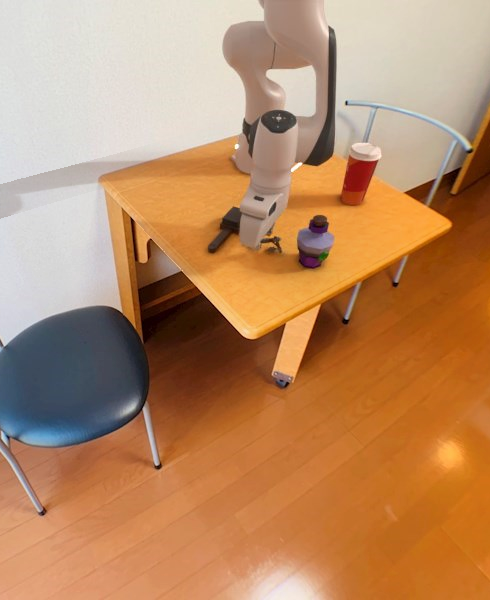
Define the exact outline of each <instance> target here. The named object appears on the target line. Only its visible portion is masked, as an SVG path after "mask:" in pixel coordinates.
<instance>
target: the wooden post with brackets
mask: <svg viewBox="0 0 490 600" xmlns="http://www.w3.org/2000/svg"><path fill="white" fill-rule="evenodd" d="M280 241H282V237H280V236H277V235H274V236H273V237H263V239H262V240H261V241H260V243H262V245H263V244H270V243H272V244H273V246H269V247H267V251H268V252H269V253H271V252H273V253H275V251H278V253H279V254H282V252H283V251H282V250H283V249H282V247H281V245H280Z"/></svg>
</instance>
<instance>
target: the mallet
mask: <svg viewBox="0 0 490 600" xmlns="http://www.w3.org/2000/svg"><path fill="white" fill-rule="evenodd" d="M242 213H243V212H240V207H239V206H232V207H231V208H230V209H229V210H228V211H227V212H226V213H225V214H224V215H223V216H222V218H221V219H222V220H221V222H220V223H219V230H221V231H220V232H219V233H218V234H217V235H216V236H215V237H214V238H213V239H212V240H211V242H210V243H209V244H208V245H207V252H208V253H209V254H215V253H216V252H217V251H218V250H219V249H220V248H221V247H222V245H224V243H225V241H227V240H228V239H229V238H230V236H231V235H232V234H234V235H236V236H238V235H240V220H241V216H242Z"/></svg>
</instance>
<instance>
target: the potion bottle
mask: <svg viewBox="0 0 490 600" xmlns="http://www.w3.org/2000/svg"><path fill="white" fill-rule="evenodd" d="M329 224H330V223H329V222H328V217H327V216H326V215H324V214H316V215H314V216H313V217H312V219H309V223H308V226H307V227H305V228H301V229H299V230H298V233H297V237H296V247H297V250H298V264H300V265H301V266H302V267H303V268H306V269H312V270H315V269H317V268H319V267H321V266H322V264H323V262H324V261H325V260H327V258H328V257H329V255H330V251H331V249H332V248H333V246H334V243H335V237H336V236H335V235H333V234H332V233H331V232H330V231H328V230H329V226H330V225H329Z"/></svg>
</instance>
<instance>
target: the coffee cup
mask: <svg viewBox="0 0 490 600" xmlns="http://www.w3.org/2000/svg"><path fill="white" fill-rule="evenodd" d="M347 153H348V157H347V163H346V169H345V174H344V179H343V184H342V189H341V194H340V200H341V202H342V203H344V204H346V205H349V206H358V205H361V204H362V203H363V201H364V198H365V196H366V195H367V191H368V189H369V188H370V187H369V186H370V184H371V181H372V180H373V179H372V178H373V176H374V173H375V171H376V168H377V165H378V163H379V160H380V159H381V158H382V149H381V148H380V147H379V146H377V145H375V144H372V143H370V142H356V143H353V144H352V145H351V147H350V148H349V149H348V152H347Z"/></svg>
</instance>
